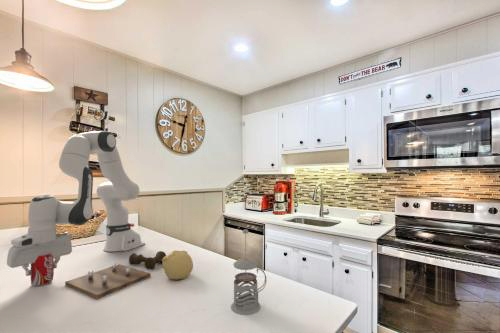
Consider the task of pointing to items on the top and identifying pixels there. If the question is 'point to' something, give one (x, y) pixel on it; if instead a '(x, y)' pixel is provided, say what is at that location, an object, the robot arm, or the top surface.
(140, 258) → the kendama
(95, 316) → the top surface
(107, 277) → the peg board
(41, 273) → the soda can
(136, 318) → the top surface
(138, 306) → the top surface
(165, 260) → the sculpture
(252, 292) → the french press
